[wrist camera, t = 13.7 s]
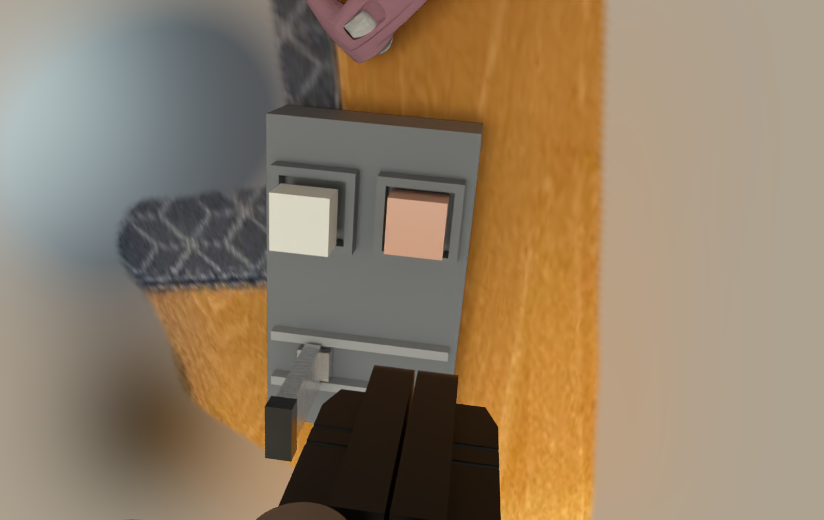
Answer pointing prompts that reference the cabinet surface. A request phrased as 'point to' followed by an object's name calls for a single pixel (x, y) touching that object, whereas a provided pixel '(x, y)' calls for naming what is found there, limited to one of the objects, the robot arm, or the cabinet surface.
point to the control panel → (368, 244)
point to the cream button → (303, 219)
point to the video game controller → (363, 23)
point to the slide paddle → (295, 400)
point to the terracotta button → (416, 224)
